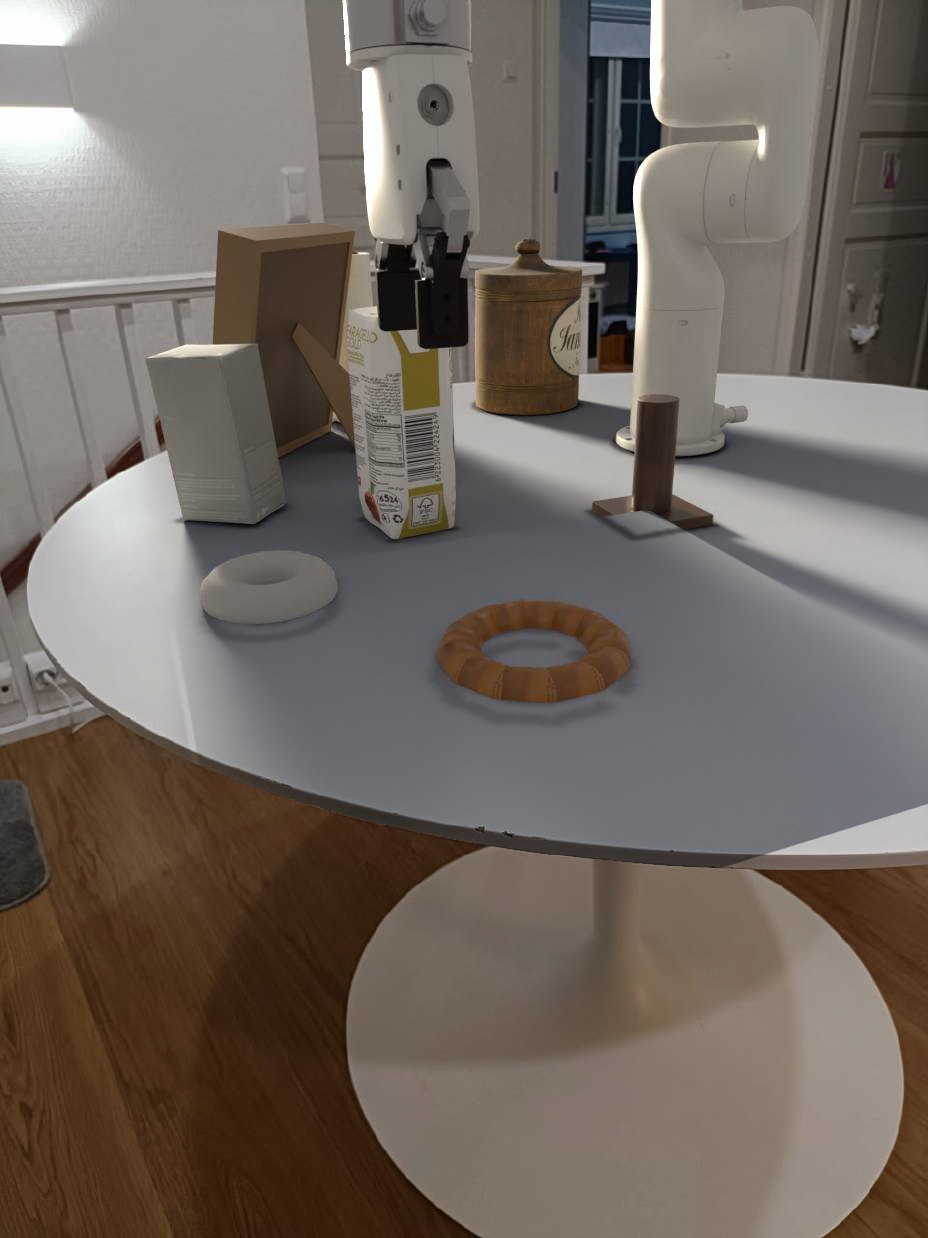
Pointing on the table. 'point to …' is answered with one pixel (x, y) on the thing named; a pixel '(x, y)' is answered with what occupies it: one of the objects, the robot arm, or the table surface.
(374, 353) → the juice carton
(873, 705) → the table surface
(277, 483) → the cosmetic box
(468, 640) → the ring
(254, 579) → the donut
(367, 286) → the paper towel roll
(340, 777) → the table surface
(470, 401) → the table surface
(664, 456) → the post
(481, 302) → the wooden container
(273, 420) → the photo frame
